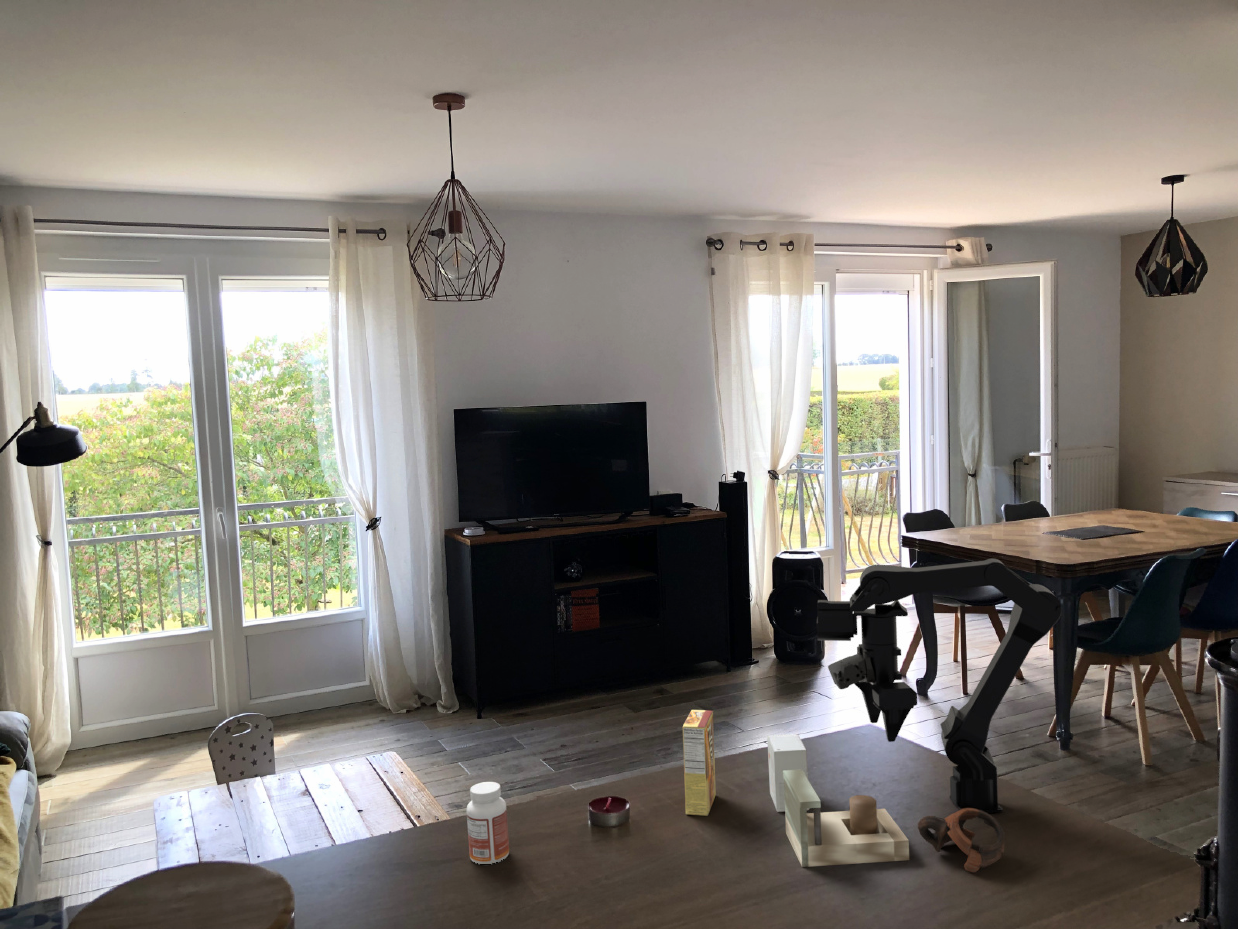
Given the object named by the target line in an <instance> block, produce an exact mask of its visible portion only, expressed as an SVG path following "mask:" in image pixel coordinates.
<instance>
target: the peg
mask: <svg viewBox="0 0 1238 929" xmlns="http://www.w3.org/2000/svg"><path fill="white" fill-rule="evenodd" d="M848 801H849V811H850V830H851V835H864V834H877V809H878V807H877V800H876V798H874V797H872V796H870V795H866V794H858V795H853V796H851V797H849V800H848Z"/></svg>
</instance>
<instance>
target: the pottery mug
mask: <svg viewBox="0 0 1238 929" xmlns="http://www.w3.org/2000/svg"><path fill="white" fill-rule="evenodd" d="M975 818H979V819H981V820H982V821H983V823H984V824H986V825H987V826H989V827H991V828H992V829H994V830H995V833H996V836H997V840H996V841H995V843H994V844H991V845H981V844H980V845H979V850H976V849H974V848H972V846H973V838H975V835H976V833H975V832H974V831H971V830H968V829H967V828H965V827H964V825H965V823H966V822H967V820H973V819H975ZM917 829H918V832H919V834H920V836H921V837H922V839H924V840H925V841H926V842H927V843H929V844H930V845H932V847H933V849H934V850H935V851H936V852H937V853H940V852H941V849H942V848H943V847H944V845H945V844H946V843H949V842H953V843H954V844H956V846H957V847H958V848H959V850H961V852H963V853H964V854H966V856H967V859H966V862H965V863H964V866H963V868H964V870H965V871H968V872H970V873H972V874H975V873H977V871H979V870H980V868H982V869H983V868H986V867H989V866H990V865H993V864H995V863H996V862H998V860H1000V859H1002V856H1003V855H1002V854H1003V853H1004V852H1005V833H1004V829H1003V827H1002V826H1001V824H1000V822H999V821H998V820H997V819H996V818H995V817H994V816H992V815H991V814H989V813H986V812H984V811H982V810H978V809H974V808H964V809H961V810H960V809H959V810H957V811H956V812H954V813H951V814H949V815H948V816H946V817H944V818H940V817H938V816H936V815H926V816H923V817H922V818H921V819H920V820H919V821H918V822H917ZM931 830H933V832H932V831H931Z"/></svg>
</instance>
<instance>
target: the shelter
mask: <svg viewBox="0 0 1238 929" xmlns="http://www.w3.org/2000/svg"><path fill="white" fill-rule="evenodd" d="M783 777H784V794H785V811H784V812H785V814H784V816H785V833H786V836H787V838H788V840H789V842H790V845H791V846H792V849H793V850H794V853H795V855H796V857H797V859H798V861H799V863H800V866H801V867H802V868H805V867H806V868H808V867H823V866H837V865H852V864H853V865H855V864H869V863H870V864H871V863H882V862H883V863H885V862H899V861H910V844H909V843H910V842H909V841H910V840H909V839H908V838H907V836H906V835H905V834H904V832H903V831H902V830H901V828H900V827H899V825H898V824H897V823H896V822H895V820H894V819H893V818H892V816H891V815H890V813H888V811H887V809H886V808H877V834H864V835H851V830H850V810H842V811H841V810H839V811H825V812H824V811H823V812H821V808H822V807H821V806H822V805H821V804H822V803H821V799H820V797H819V796H818V794H817V793H816V791H815V789H814V788H813V786H812V784H811V782H810V781H809V778H808V779H807V778H806V776H805V774H804V773H803V771H802V769H801V770H785V771H783ZM807 808H809V809H812V810H813V812H812V813H811V812H810V813H809V812H807V811H808V810H807Z"/></svg>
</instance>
